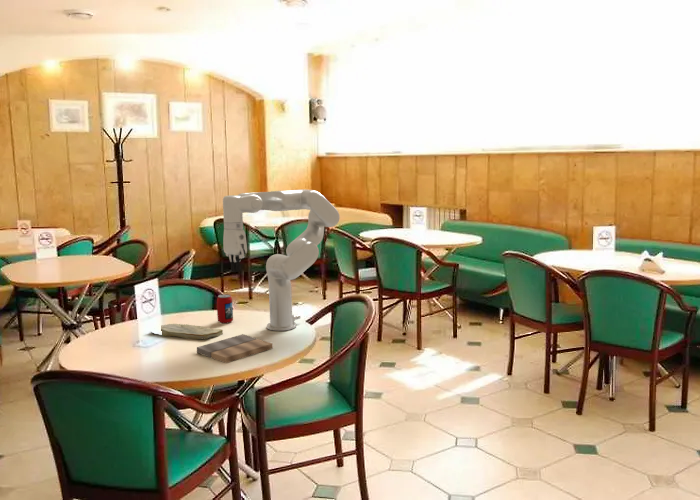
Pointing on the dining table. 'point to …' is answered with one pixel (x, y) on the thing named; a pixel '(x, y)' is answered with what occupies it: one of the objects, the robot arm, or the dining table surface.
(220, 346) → the smoked oak plank
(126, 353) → the dining table surface
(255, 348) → the walnut board
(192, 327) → the stone slab
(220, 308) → the beverage can
